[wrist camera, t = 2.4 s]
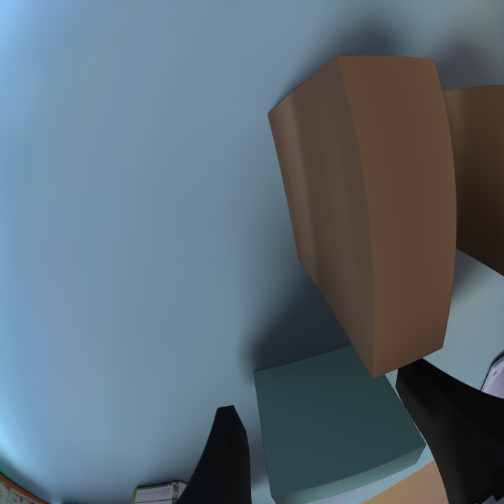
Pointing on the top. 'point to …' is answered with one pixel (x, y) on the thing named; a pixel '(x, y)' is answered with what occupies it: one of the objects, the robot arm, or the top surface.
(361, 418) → the teal tile
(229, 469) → the robot arm
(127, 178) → the top surface
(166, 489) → the syrup box
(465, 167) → the tile
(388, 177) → the tile
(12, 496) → the cracker box
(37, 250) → the top surface
